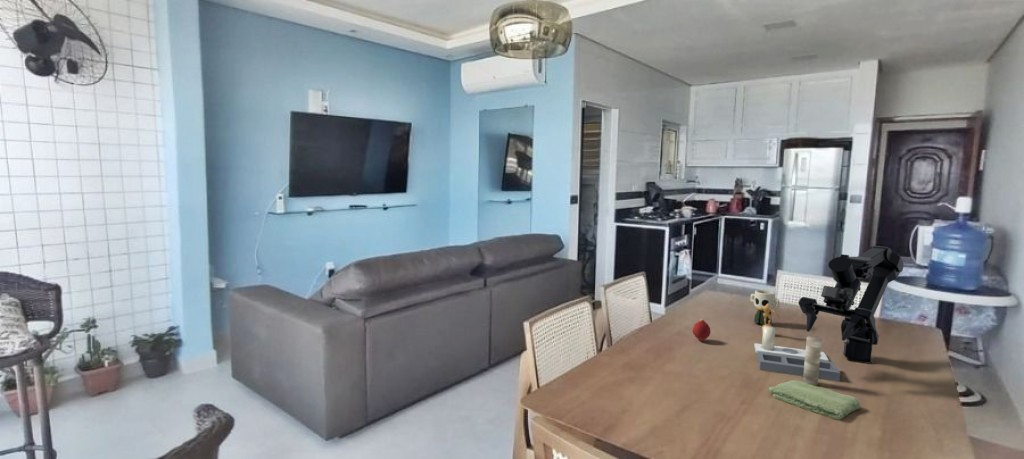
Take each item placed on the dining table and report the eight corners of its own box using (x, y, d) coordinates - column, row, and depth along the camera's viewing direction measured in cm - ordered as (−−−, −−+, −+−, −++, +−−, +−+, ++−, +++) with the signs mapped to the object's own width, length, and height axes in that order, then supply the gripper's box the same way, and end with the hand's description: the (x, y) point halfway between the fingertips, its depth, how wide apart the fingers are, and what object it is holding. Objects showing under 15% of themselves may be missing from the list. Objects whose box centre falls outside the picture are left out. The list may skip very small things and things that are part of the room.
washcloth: (789, 385, 138) (790, 374, 138) (862, 410, 124) (863, 398, 124) (765, 397, 131) (766, 385, 130) (839, 425, 116) (841, 412, 116)
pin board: (832, 369, 149) (833, 361, 149) (839, 381, 140) (840, 372, 140) (757, 359, 156) (758, 351, 156) (759, 369, 148) (760, 361, 148)
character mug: (744, 322, 196) (746, 290, 195) (753, 319, 201) (755, 288, 199) (772, 329, 188) (775, 295, 186) (781, 325, 192) (783, 293, 191)
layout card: (823, 355, 161) (825, 331, 160) (828, 363, 154) (830, 338, 153) (754, 346, 169) (756, 323, 168) (756, 353, 162) (757, 329, 161)
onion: (707, 338, 176) (708, 316, 175) (711, 344, 170) (713, 321, 169) (690, 337, 176) (691, 316, 175) (694, 343, 170) (695, 320, 169)
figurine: (781, 336, 179) (784, 304, 178) (775, 340, 175) (778, 307, 174) (757, 330, 185) (759, 299, 184) (751, 334, 181) (753, 302, 180)
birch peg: (816, 381, 140) (820, 337, 138) (818, 386, 137) (822, 341, 135) (801, 379, 141) (805, 335, 140) (803, 384, 138) (807, 339, 136)
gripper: (803, 270, 150) (783, 311, 145) (875, 282, 135) (855, 327, 130) (813, 292, 156) (793, 332, 150) (883, 306, 141) (864, 350, 135)
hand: (824, 335), depth 141 cm, fingers open, 9 cm apart
